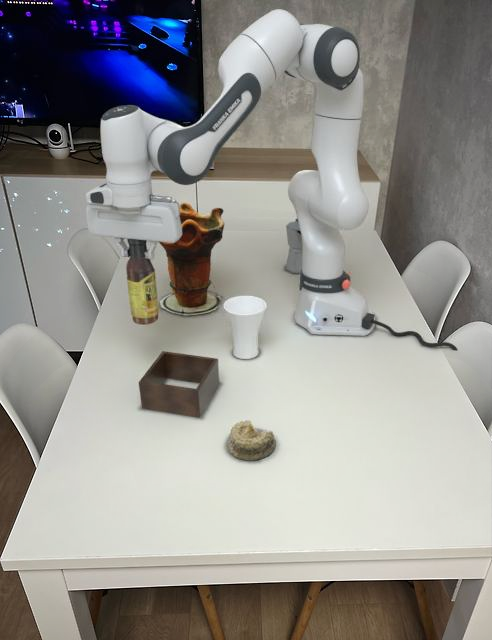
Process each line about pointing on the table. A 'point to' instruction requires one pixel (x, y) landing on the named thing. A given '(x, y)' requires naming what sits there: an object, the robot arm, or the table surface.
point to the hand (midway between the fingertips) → (138, 257)
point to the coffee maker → (294, 247)
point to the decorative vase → (192, 262)
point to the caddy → (175, 396)
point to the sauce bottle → (141, 284)
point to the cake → (250, 442)
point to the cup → (245, 324)
